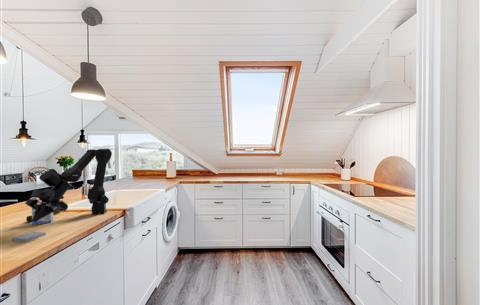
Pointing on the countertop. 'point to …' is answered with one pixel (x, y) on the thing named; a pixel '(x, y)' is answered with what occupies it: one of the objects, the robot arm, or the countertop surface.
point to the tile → (28, 236)
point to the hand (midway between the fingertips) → (33, 221)
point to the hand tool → (57, 211)
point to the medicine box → (45, 219)
